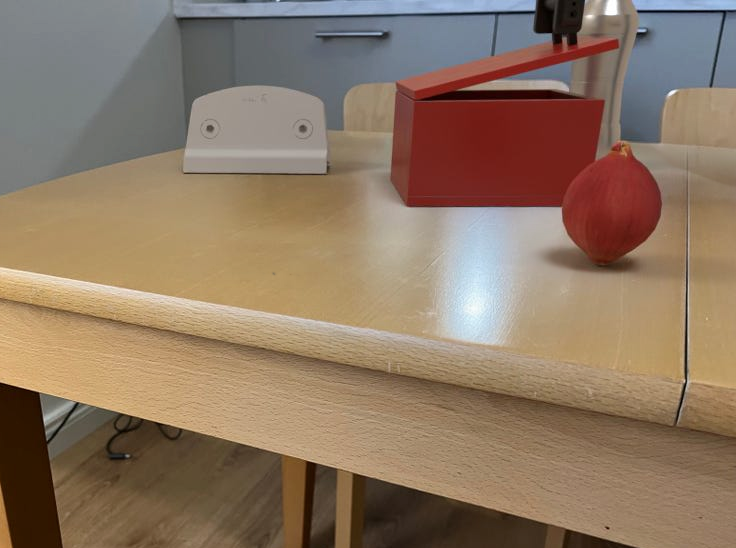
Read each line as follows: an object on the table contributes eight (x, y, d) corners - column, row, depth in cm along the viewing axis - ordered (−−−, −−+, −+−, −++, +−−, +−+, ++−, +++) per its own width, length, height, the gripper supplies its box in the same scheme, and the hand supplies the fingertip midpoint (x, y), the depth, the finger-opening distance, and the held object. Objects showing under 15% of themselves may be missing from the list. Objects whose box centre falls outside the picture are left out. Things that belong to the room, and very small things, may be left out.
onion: (551, 250, 53) (569, 133, 50) (640, 255, 52) (664, 135, 48) (557, 273, 48) (577, 145, 45) (655, 280, 47) (684, 147, 43)
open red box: (543, 180, 78) (556, 89, 74) (587, 206, 66) (605, 99, 63) (390, 180, 79) (395, 90, 75) (407, 206, 67) (414, 101, 63)
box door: (567, 45, 73) (562, -13, 71) (619, 48, 61) (615, -22, 59) (396, 89, 75) (387, 34, 73) (415, 100, 63) (404, 35, 61)
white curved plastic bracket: (179, 172, 84) (181, 80, 83) (188, 179, 89) (190, 93, 88) (329, 173, 82) (333, 80, 81) (330, 181, 87) (333, 92, 86)
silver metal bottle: (618, 171, 82) (655, -36, 74) (552, 169, 84) (581, -33, 76) (613, 162, 87) (647, -31, 79) (551, 160, 89) (578, -29, 81)
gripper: (673, -231, 53) (632, 32, 60) (597, -179, 66) (571, 32, 73) (564, -225, 53) (536, 35, 60) (511, -175, 66) (492, 34, 73)
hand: (555, 32), depth 66 cm, fingers closed on box door, 5 cm apart
